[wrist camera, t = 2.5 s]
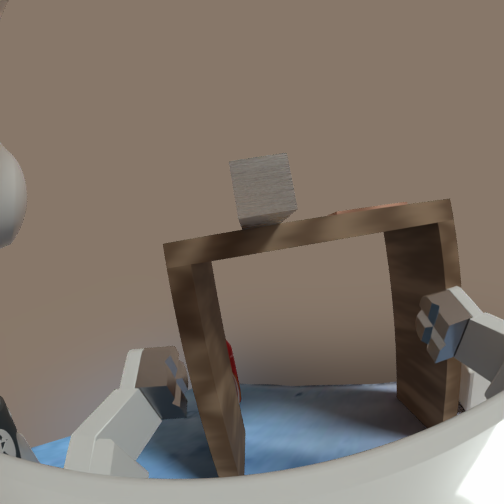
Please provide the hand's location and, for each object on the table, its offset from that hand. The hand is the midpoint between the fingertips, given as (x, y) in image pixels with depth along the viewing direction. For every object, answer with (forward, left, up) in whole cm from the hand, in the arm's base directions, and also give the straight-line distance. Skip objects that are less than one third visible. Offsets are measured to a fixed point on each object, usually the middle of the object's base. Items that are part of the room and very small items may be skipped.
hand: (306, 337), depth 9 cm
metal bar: (0, +17, +5) cm, 18 cm away
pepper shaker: (+24, +19, -22) cm, 38 cm away
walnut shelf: (+5, +22, -21) cm, 31 cm away
